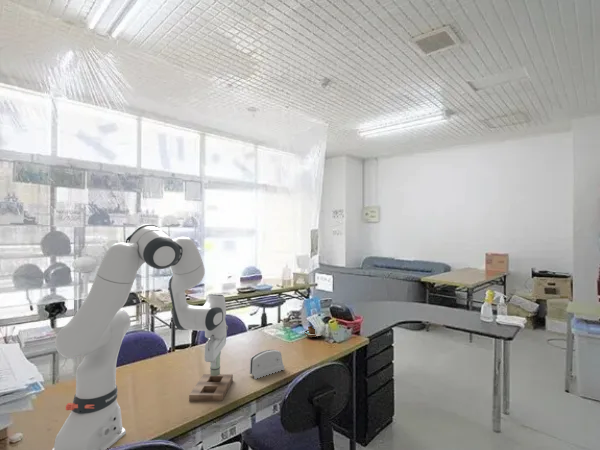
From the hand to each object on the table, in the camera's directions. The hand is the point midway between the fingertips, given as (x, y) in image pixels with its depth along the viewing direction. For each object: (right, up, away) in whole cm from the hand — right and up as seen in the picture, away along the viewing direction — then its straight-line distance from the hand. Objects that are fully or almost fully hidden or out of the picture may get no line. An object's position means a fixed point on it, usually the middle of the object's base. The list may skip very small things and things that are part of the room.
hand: (215, 363), depth 143 cm
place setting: (+46, -10, +70) cm, 84 cm away
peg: (0, -4, 0) cm, 4 cm away
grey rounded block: (+21, -10, +12) cm, 26 cm away
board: (0, -9, -4) cm, 10 cm away
